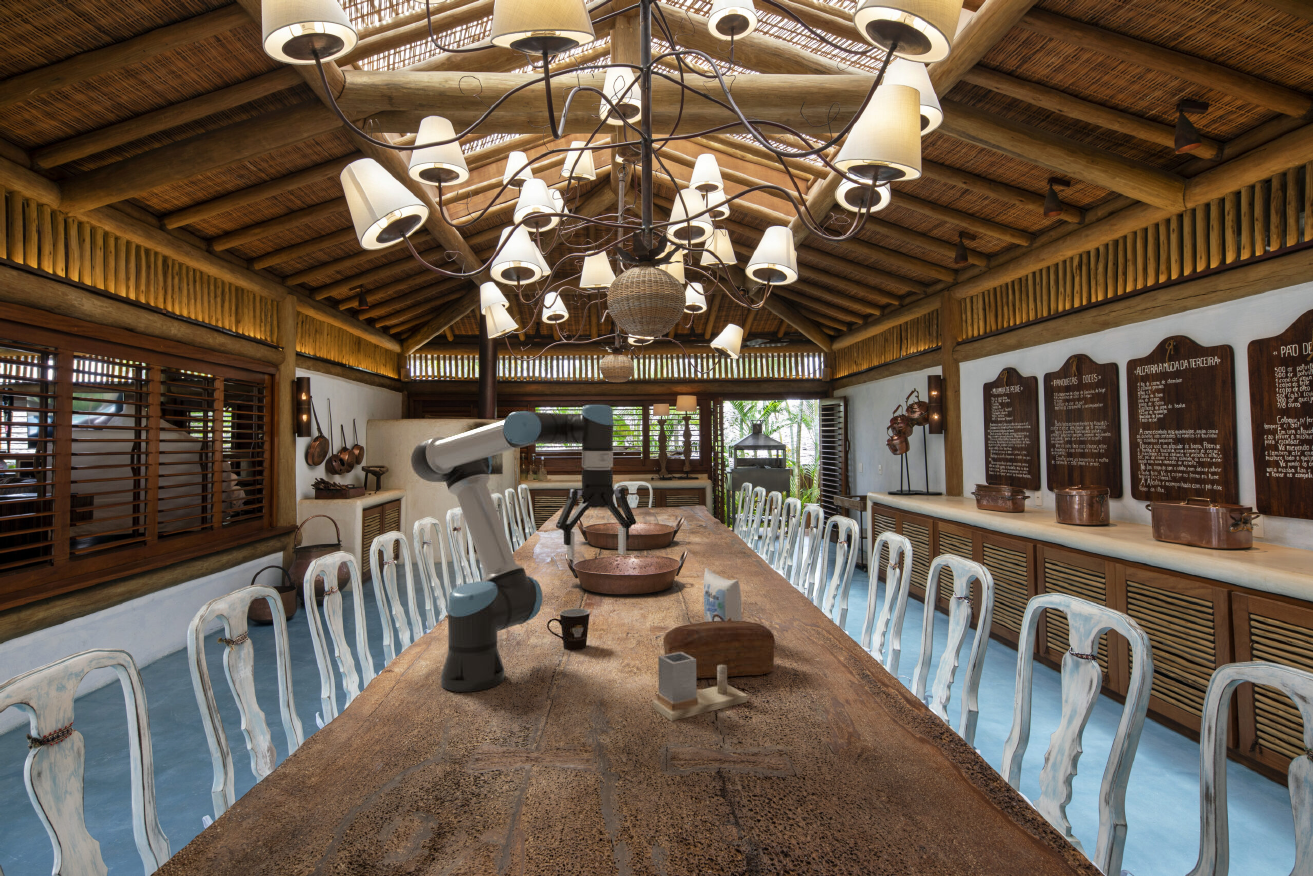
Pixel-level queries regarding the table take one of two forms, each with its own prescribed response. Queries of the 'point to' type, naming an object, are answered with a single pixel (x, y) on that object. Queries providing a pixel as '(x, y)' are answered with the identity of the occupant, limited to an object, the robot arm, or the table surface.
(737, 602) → the pouch
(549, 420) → the robot arm
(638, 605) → the table surface
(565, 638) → the coffee mug
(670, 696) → the sleeve
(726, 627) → the bread
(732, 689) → the pin board
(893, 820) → the table surface
